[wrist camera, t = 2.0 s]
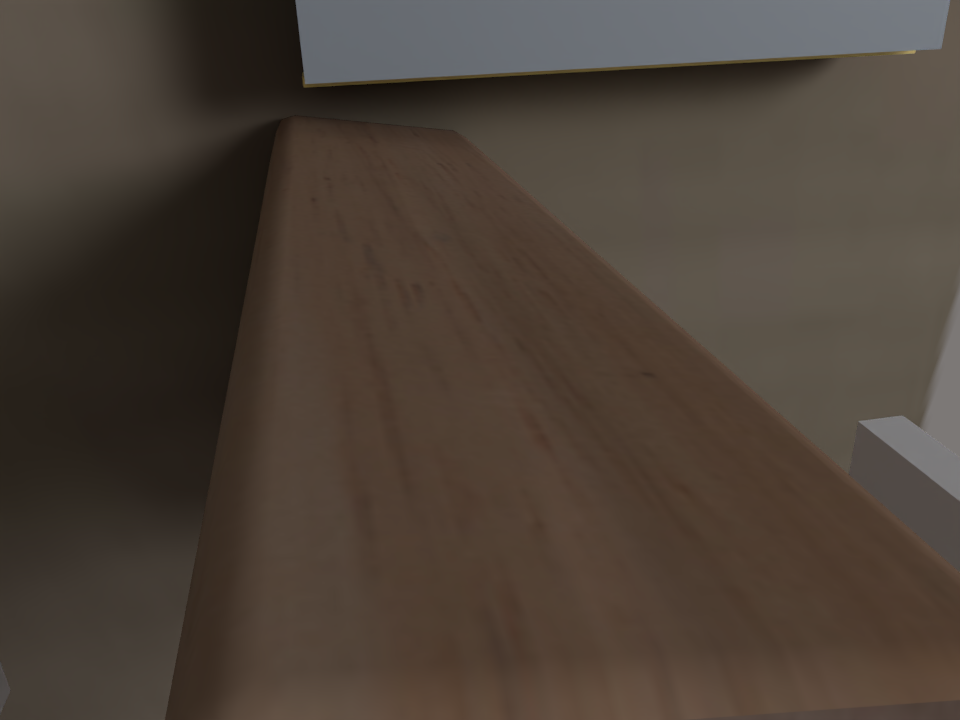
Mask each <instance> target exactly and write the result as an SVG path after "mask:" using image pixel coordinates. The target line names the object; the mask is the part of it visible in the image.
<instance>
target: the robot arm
mask: <svg viewBox="0 0 960 720" xmlns="http://www.w3.org/2000/svg"><path fill="white" fill-rule="evenodd" d="M849 475H850V476H851V477H852V478H853V479H854V480H855V481H857V482H858V483H859V484H860V485H861V486H862V487H863V488H864V489H866V490H867V491H868V492H869V493H870V494H871V495H872V496H874V497H875V498H876V499H877V500H878V501H879V502H880V503H882V504H883V505H884V506H885V507H886V508H887V509H888V510H890V511H891V512H892V513H893V514H894V515H895V516H896V517H897V518H899V519H900V520H901V521H902V522H903V523H904V524H905V525H907V526H908V527H909V528H910V529H911V530H912V531H913V532H915V533H916V534H917V535H918V536H919V537H920V538H921V539H922V540H924V541H925V542H926V543H927V544H928V545H929V546H930V547H932V548H933V549H934V550H935V551H936V552H937V553H938V554H940V555H941V556H942V557H943V558H944V559H945V560H946V561H947V562H949V563H950V564H951V565H952V566H953V567H954V568H955V569H957V570H958V571H959V572H960V457H959V456H958V455H957V454H955V453H954V452H952V451H951V450H949V449H948V448H947V447H945V446H944V445H943V444H941V443H940V442H938V441H937V440H936V439H934V438H933V437H932V436H930V435H929V434H927V433H926V432H925V431H923V430H922V429H920V428H919V427H918V426H916V425H915V424H914V423H912V422H911V421H909V420H908V419H907V418H905V417H904V416H896V417H888V418H880V419H872V420H864V421H858V426H857V431H856V437H855V443H854V448H853V454H852V460H851V466H850V471H849ZM10 691H11V690H10V687H9V685H8V682H7V679H6V676H5V674H4V671H3V668H2V665H1V663H0V713H1V711H2V709H3V707H4V704H5V702H6V700H7V697H8V695H9V693H10Z"/></svg>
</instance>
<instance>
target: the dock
mask: <svg viewBox="0 0 960 720" xmlns="http://www.w3.org/2000/svg"><path fill="white" fill-rule="evenodd" d="M295 1H296V9H297V18H298V27H299V35H300V44H301V52H302V61H303V70H304V72H302V79H303V88H306V87H324V86H341V85H359V84H377V83H395V82H413V81H430V80H448V79H466V78H484V77H501V76H519V75H537V74H555V73H572V72H590V71H608V70H626V69H644V68H661V67H679V66H697V65H715V64H732V63H750V62H768V61H786V60H804V59H821V58H839V57H857V56H875V55H892V54H910V53H915V51H916V50H928V49H941V47H942V42H943V36H944V31H945V25H946V20H947V14H948V9H949V4H950V0H295Z"/></svg>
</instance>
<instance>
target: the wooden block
mask: <svg viewBox="0 0 960 720" xmlns="http://www.w3.org/2000/svg"><path fill="white" fill-rule="evenodd" d="M165 720H960V572H959V571H958V570H957V569H955V568H954V567H953V566H952V565H951V564H950V563H949V562H947V561H946V560H945V559H944V558H943V557H942V556H941V555H940V554H938V553H937V552H936V551H935V550H934V549H933V548H932V547H930V546H929V545H928V544H927V543H926V542H925V541H924V540H922V539H921V538H920V537H919V536H918V535H917V534H916V533H915V532H913V531H912V530H911V529H910V528H909V527H908V526H907V525H905V524H904V523H903V522H902V521H901V520H900V519H899V518H897V517H896V516H895V515H894V514H893V513H892V512H891V511H890V510H888V509H887V508H886V507H885V506H884V505H883V504H882V503H880V502H879V501H878V500H877V499H876V498H875V497H874V496H872V495H871V494H870V493H869V492H868V491H867V490H866V489H864V488H863V487H862V486H861V485H860V484H859V483H858V482H857V481H855V480H854V479H853V478H852V477H851V476H850V475H849V474H847V473H846V472H845V471H844V470H843V469H842V468H841V467H839V466H838V465H837V464H836V463H835V462H834V461H833V460H832V459H830V458H829V457H828V456H827V455H826V454H825V453H824V452H822V451H821V450H820V449H819V448H818V447H817V446H816V445H814V444H813V443H812V442H811V441H810V440H809V439H808V438H807V437H805V436H804V435H803V434H802V433H801V432H800V431H799V430H797V429H796V428H795V427H794V426H793V425H792V424H791V423H789V422H788V421H787V420H786V419H785V418H784V417H783V416H781V415H780V414H779V413H778V412H777V411H776V410H775V409H774V408H772V407H771V406H770V405H769V404H768V403H767V402H766V401H764V400H763V399H762V398H761V397H760V396H759V395H758V394H756V393H755V392H754V391H753V390H752V389H751V388H750V387H749V386H747V385H746V384H745V383H744V382H743V381H742V380H741V379H739V378H738V377H737V376H736V375H735V374H734V373H733V372H731V371H730V370H729V369H728V368H727V367H726V366H725V365H724V364H722V363H721V362H720V361H719V360H718V359H717V358H716V357H714V356H713V355H712V354H711V353H710V352H709V351H708V350H706V349H705V348H704V347H703V346H702V345H701V344H700V343H698V342H697V341H696V340H695V339H694V338H693V337H692V336H691V335H689V334H688V333H687V332H686V331H685V330H684V329H683V328H681V327H680V326H679V325H678V324H677V323H676V322H675V321H673V320H672V319H671V318H670V317H669V316H668V315H667V314H666V313H664V312H663V311H662V310H661V309H660V308H659V307H658V306H656V305H655V304H654V303H653V302H652V301H651V300H650V299H648V298H647V297H646V296H645V295H644V294H643V293H642V292H641V291H639V290H638V289H637V288H636V287H635V286H634V285H633V284H631V283H630V282H629V281H628V280H627V279H626V278H625V277H623V276H622V275H621V274H620V273H619V272H618V271H617V270H615V269H614V268H613V267H612V266H611V265H610V264H609V263H608V262H606V261H605V260H604V259H603V258H602V257H601V256H600V255H598V254H597V253H596V252H595V251H594V250H593V249H592V248H590V247H589V246H588V245H587V244H586V243H585V242H584V241H583V240H581V239H580V238H579V237H578V236H577V235H576V234H575V233H573V232H572V231H571V230H570V229H569V228H568V227H567V226H565V225H564V224H563V223H562V222H561V221H560V220H559V219H558V218H556V217H555V216H554V215H553V214H552V213H551V212H550V211H549V210H547V209H546V208H545V207H544V206H543V205H542V204H541V203H539V202H538V201H537V200H536V199H535V198H534V197H533V196H532V195H530V194H529V193H528V192H527V191H526V190H525V189H524V188H523V187H521V186H520V185H519V184H518V183H517V182H516V181H515V180H513V179H512V178H511V177H510V176H509V175H508V174H507V173H506V172H504V171H503V170H502V169H501V168H500V167H499V166H498V165H496V164H495V163H494V162H493V161H492V160H491V159H490V158H488V157H487V156H486V155H485V154H484V153H483V152H482V151H480V150H479V149H478V148H477V147H476V146H475V145H473V144H472V143H471V142H470V141H469V140H468V139H467V138H465V137H464V136H462V135H460V134H459V133H457V132H455V131H451V130H441V129H431V128H420V127H410V126H399V125H389V124H379V123H368V122H358V121H348V120H337V119H327V118H316V117H306V116H296V115H294V116H291V117H288V118H285V119H282V120H281V122H280V124H279V127H278V129H277V131H276V135H275V140H274V145H273V149H272V154H271V159H270V164H269V170H268V175H267V181H266V186H265V192H264V197H263V203H262V208H261V214H260V219H259V225H258V230H257V236H256V241H255V246H254V251H253V257H252V262H251V267H250V273H249V278H248V283H247V288H246V294H245V299H244V304H243V310H242V315H241V320H240V326H239V331H238V336H237V341H236V347H235V352H234V357H233V363H232V368H231V373H230V378H229V384H228V389H227V394H226V400H225V405H224V410H223V416H222V421H221V426H220V431H219V437H218V442H217V447H216V453H215V458H214V463H213V468H212V474H211V479H210V484H209V490H208V495H207V500H206V506H205V511H204V516H203V521H202V527H201V532H200V537H199V543H198V548H197V553H196V558H195V564H194V569H193V574H192V580H191V585H190V590H189V596H188V601H187V606H186V611H185V617H184V622H183V627H182V633H181V638H180V643H179V649H178V654H177V659H176V664H175V670H174V675H173V680H172V686H171V691H170V696H169V701H168V707H167V712H166V717H165Z"/></svg>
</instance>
